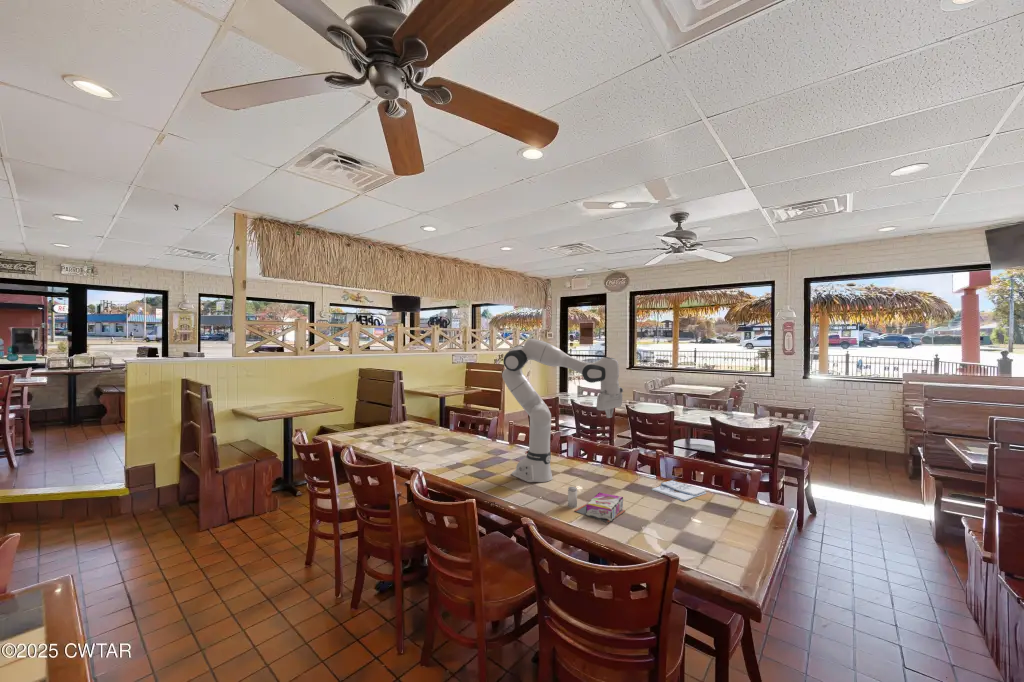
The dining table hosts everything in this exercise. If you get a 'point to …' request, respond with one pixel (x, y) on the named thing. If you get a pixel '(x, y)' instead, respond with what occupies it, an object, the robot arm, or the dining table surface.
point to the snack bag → (686, 490)
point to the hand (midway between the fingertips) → (609, 417)
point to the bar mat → (583, 511)
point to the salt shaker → (572, 497)
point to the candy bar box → (604, 506)
